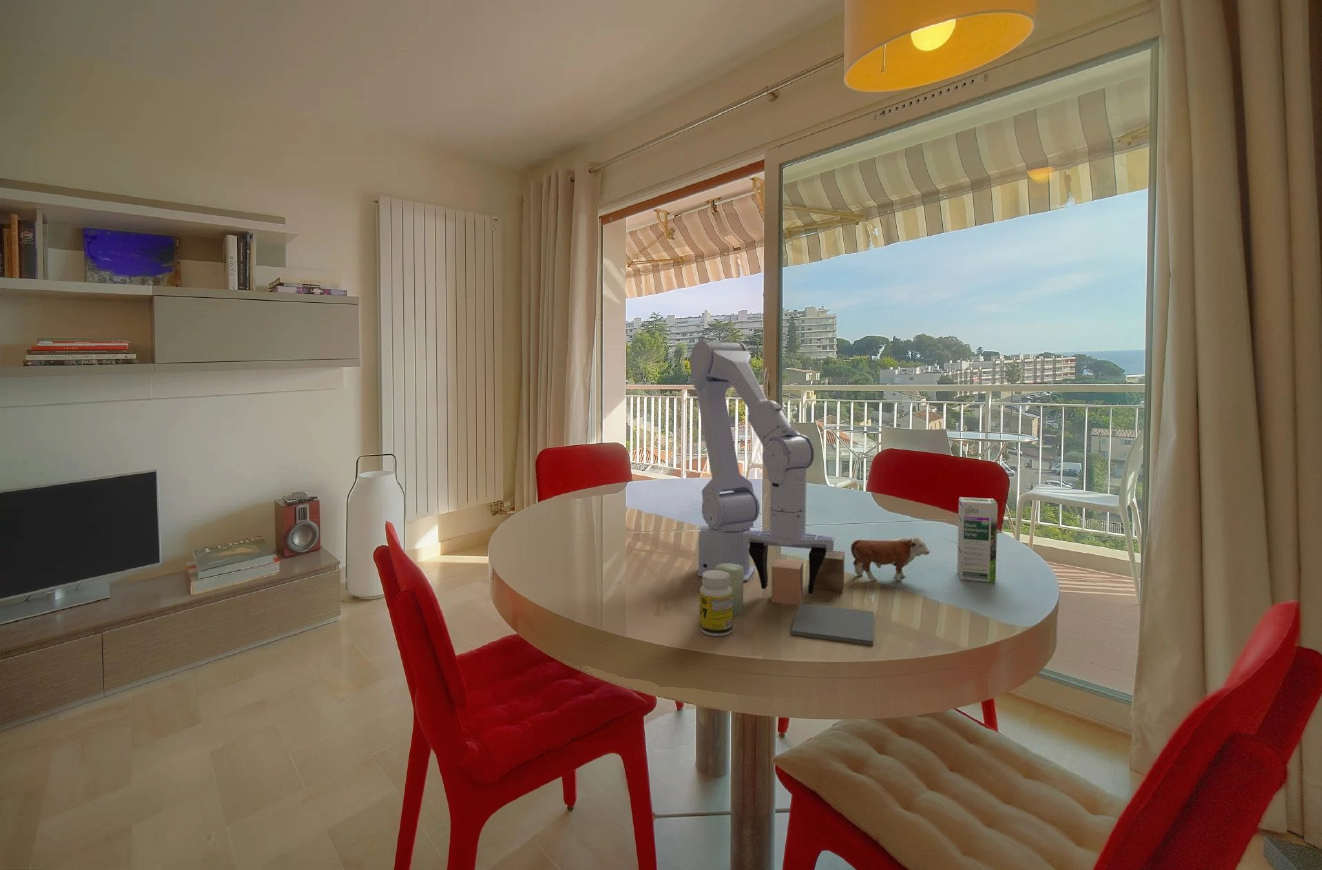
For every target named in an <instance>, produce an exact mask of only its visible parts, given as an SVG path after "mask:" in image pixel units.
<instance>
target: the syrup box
mask: <svg viewBox="0 0 1322 870" xmlns="http://www.w3.org/2000/svg"><path fill="white" fill-rule="evenodd" d="M998 506H999V505H998V502H997V500H995V499H994V498H982V497H981V498H980V497H979V498H978V497H964V496H963V497H962V496H959V498H958V522H957V525H958V527H957V565H956V567H957V568H956V569H957V573H958V577H959V580H961V581H974V582H982V583H990V582H991V583H990V584H995V583H996V571H997V569H996V568H997V545H998V544H997V542H998V541H997V540H998V537H997V536H998V511H999V510H998V508H999V507H998Z"/></svg>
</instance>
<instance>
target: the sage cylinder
mask: <svg viewBox="0 0 1322 870" xmlns="http://www.w3.org/2000/svg"><path fill="white" fill-rule="evenodd" d="M715 570H720V571H725V572H727V573H729V574H730V585H729V586H730V587H731V588H732V593H733V597H732V610H733V612H732V613H733V617H736V616H740V615H741V614H743V613H744V581H743V566H741V565H738V564H733V563H723V564H719V565H716V566H715Z"/></svg>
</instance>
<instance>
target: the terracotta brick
mask: <svg viewBox="0 0 1322 870" xmlns="http://www.w3.org/2000/svg"><path fill="white" fill-rule="evenodd" d="M803 586H804V561H801V560H790V559H782V558H781V559H779V558H778V559H777V558H776V559H775V560H774V562H773V564H772V565H771V603H774V604H776V603H777V604H784V605H791V606H792V605H793V606H800V604H801V602H802V599H803V596H804V587H803Z"/></svg>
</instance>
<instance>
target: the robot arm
mask: <svg viewBox="0 0 1322 870" xmlns="http://www.w3.org/2000/svg"><path fill="white" fill-rule="evenodd" d="M751 359H752V355H751V353H750V352H749V351H748V348H747V346H746V345H745V344H744V343H743V342H741V341H734V342H732V341H731V342H728V341H706V340H698V341H697V342H696V343H695V344H694V346H693V348H692V350H691V353H690V356H689V358H688V363H689V368H690V373H691V380H692V383H693V388H694V389H696V398H697V403H698V407H699V413H700V420H701V424H702V429H703V435H704V440H705V441H704V442H705V446H706V453H707V456H708V457H707V458H708V463H709V468H710V475H711V479H710V480H709V481H708V483H707V484H706V485H705V486H704V487H703V488H702V490H701V495H702V504H701V515H702V518H703V520H704V522H705V524H706V525H703V526H701V529H700V531H699V536H698V572H697V577H702V574H703V573H704V572H706V571H710V570H715V566H716V565H719V564H723V563H733V564H738V565H741V566H743V582H747V581H749V579H750V578H751V576H752V575H753V574H754V573H755V570H757V574H758V578H759V582H760V587H761V589H762V590H766V588H767V587H768V584H769V583H768V582H769V578H768V577H769V576H768V551H769V546H772V547H773V546H774V547H784V548H785V547H786V548H797V549H808V550H809V549H810V550H809V553H808V565H809V566H808V569H809V570H808V571H809V576H808V589H807V590H808V591H807V592H808V594H809V595H813V594H814V592H815V591H814V585H815V580H816V576H817V573H818V570H819V568H820V566H821V564H822V562H823V560H824V558H825V555H826V552H827V551H830V552H833V551H834V549H835V547H834V546H835V545H834V543H835V538H834V537H833V536H826V535H819V534H813V533H812V534H811V533H806V531H807V530H806V523H807V521H806V520H807V518H806V517H807V515H806V514H807V511H806V510H807V509H806V508H807V469H809V468H810V467H811V466H812V464H813V463H814V458H815V450H814V446H813V443H812V441H811V439H810V438H809V437H808V436H807V435H805V434H801V433H800V432H799V431H797V430H795V429H794V427H793V426H792V424H791V422H790V421H789V420H788V418H787V417H786V415H785V413H784V412H783V409H782V406H781V405H780V403H777V402H776V401H775V400H771V399H770V400H769V399H767V397H766V395H765V393H764V390H763V389H762V387H761V385H760V383H759V381H758V378H756V375H755V373H754V372H753V369H752V367H751V362H752V360H751ZM732 388H733V389H734V390H735V392H736V393H737V394H738V396H739V397H740V398H741V400H742V402H744V404H745V405H746V407H747V409H748V410H749V411H748V415H747V421H748V423H749V424H750V426H751V427H752V429H753V431H754V432H755V435H756V436H757V438H758V439H759V441H760V443H761V446H763V448H764V452H762V459H763V464H764V466H765V468H766V471H767V472H766V473H767V476H766V477H767V480H768V482H770V484H769V485H770V486H769V487H770V488H769V489H770V494H769V495H770V497H769V498H770V499H769V501H770V503H769V507H770V510H769V513H770V514H769V515H770V517H769V518H770V519H769V520H770V521H769V523H770V524H769V528H770V529H769V530H751V528H753V527H754V522H756V521H757V520H758V518H759V515H760V509H761V506H760V501H759V499H758V496H757V495H756V494H755V491H754V487H753V483H752V481H750V480H749V479H747V477H745V476H744V475H742V474H741V473H740V468H739V467H740V466H739V463H738V457H737V452H736V448H735V447H736V446H735V442H734V436H733V431H732V425H731V421H730V414H729V410H728V405H727V404H728V403H727V400H726V393H727V391H728V390H730V389H732ZM724 492H725V493H724ZM751 560H752V561H753V563H754V566H753V565H751Z"/></svg>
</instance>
